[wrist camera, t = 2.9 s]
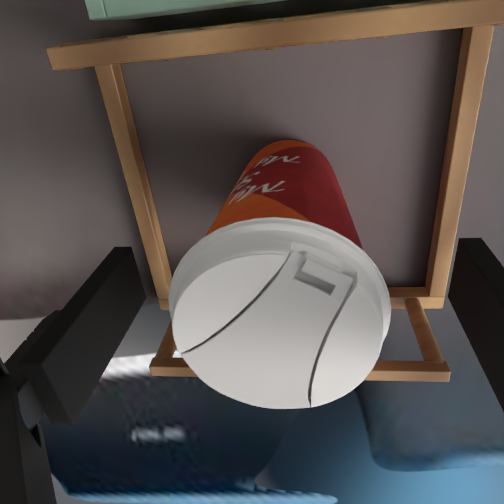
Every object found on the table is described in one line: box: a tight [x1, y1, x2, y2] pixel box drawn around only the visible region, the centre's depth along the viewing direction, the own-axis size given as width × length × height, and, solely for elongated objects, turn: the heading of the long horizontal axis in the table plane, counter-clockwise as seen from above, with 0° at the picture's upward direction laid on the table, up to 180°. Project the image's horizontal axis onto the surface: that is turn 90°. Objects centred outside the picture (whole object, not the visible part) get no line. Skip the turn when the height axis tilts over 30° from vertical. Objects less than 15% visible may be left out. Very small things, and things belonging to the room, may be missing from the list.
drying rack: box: [46, 0, 504, 382], centre depth 21 cm, size 20×18×8 cm
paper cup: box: [169, 140, 391, 409], centre depth 19 cm, size 8×8×14 cm
